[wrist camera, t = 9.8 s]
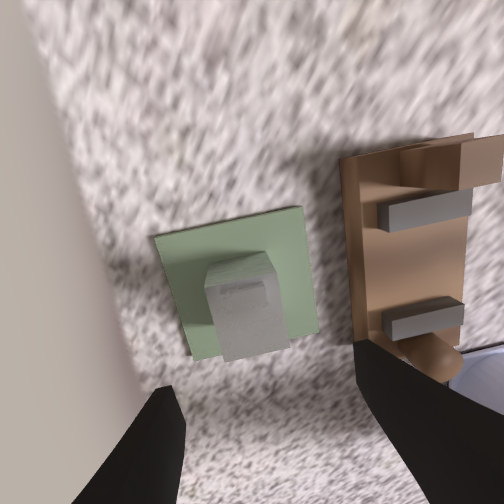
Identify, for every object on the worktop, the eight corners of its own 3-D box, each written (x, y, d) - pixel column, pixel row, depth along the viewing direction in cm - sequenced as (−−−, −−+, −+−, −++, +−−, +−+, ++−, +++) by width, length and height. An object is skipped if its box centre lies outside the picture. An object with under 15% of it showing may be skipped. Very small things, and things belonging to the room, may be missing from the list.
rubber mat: (316, 327, 20) (319, 332, 20) (195, 355, 20) (194, 361, 20) (300, 205, 17) (302, 206, 17) (156, 236, 17) (154, 238, 16)
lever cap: (277, 312, 19) (292, 354, 15) (225, 324, 19) (224, 369, 14) (265, 250, 17) (278, 276, 13) (208, 263, 17) (202, 292, 13)
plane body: (433, 326, 22) (516, 387, 15) (354, 344, 21) (407, 414, 15) (439, 138, 17) (561, 117, 11) (339, 159, 17) (405, 150, 11)
